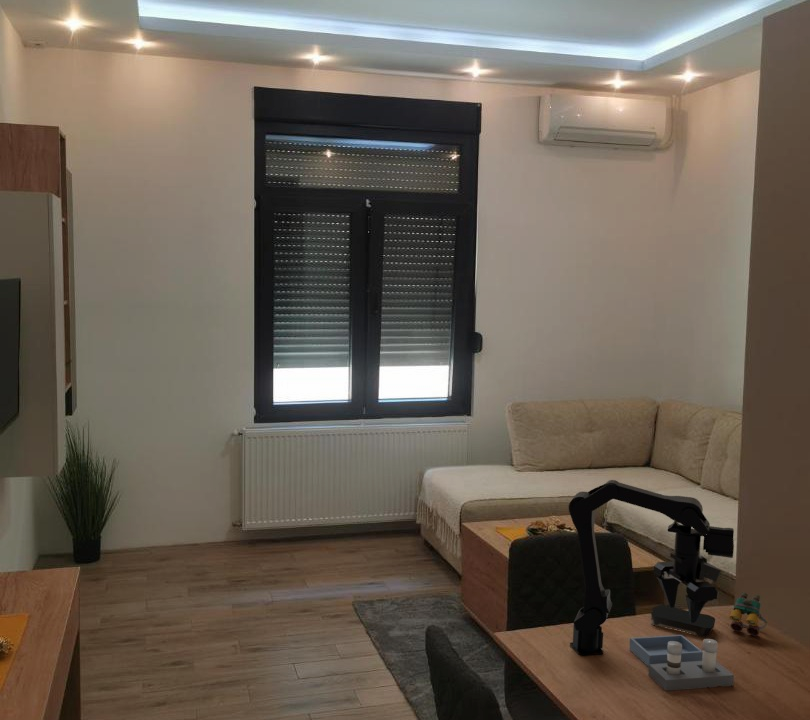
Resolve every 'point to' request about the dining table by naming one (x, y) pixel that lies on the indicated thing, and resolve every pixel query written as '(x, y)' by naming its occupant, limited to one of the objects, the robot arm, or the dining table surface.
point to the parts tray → (663, 649)
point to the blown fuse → (674, 658)
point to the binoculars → (752, 611)
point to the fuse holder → (690, 676)
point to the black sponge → (682, 620)
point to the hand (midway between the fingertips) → (682, 614)
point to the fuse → (709, 655)
